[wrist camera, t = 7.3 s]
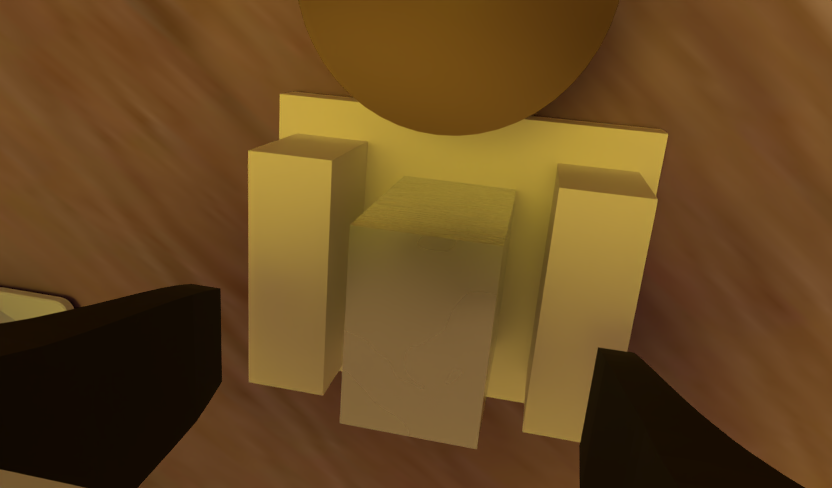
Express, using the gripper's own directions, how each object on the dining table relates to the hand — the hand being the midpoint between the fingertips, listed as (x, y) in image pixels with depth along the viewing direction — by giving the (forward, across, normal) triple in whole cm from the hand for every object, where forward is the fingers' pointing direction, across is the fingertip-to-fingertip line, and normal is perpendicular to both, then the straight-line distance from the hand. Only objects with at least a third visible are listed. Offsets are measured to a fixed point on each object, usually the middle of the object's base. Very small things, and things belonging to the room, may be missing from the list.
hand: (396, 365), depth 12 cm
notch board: (+7, 0, 0) cm, 7 cm away
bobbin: (+7, 0, -7) cm, 10 cm away
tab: (+6, 0, 0) cm, 6 cm away
